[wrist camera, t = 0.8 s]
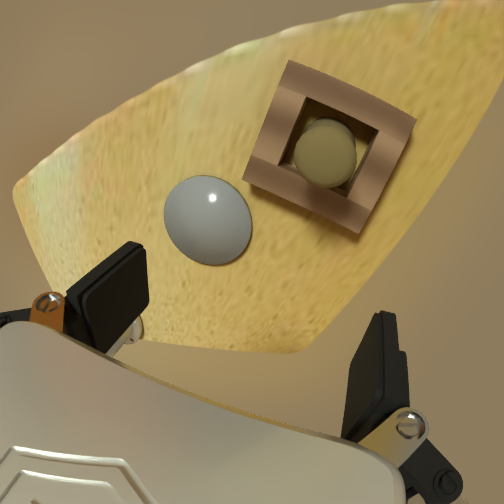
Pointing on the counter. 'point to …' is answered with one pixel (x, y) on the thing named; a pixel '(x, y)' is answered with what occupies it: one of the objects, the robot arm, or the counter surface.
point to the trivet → (208, 220)
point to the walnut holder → (370, 168)
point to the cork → (326, 153)
